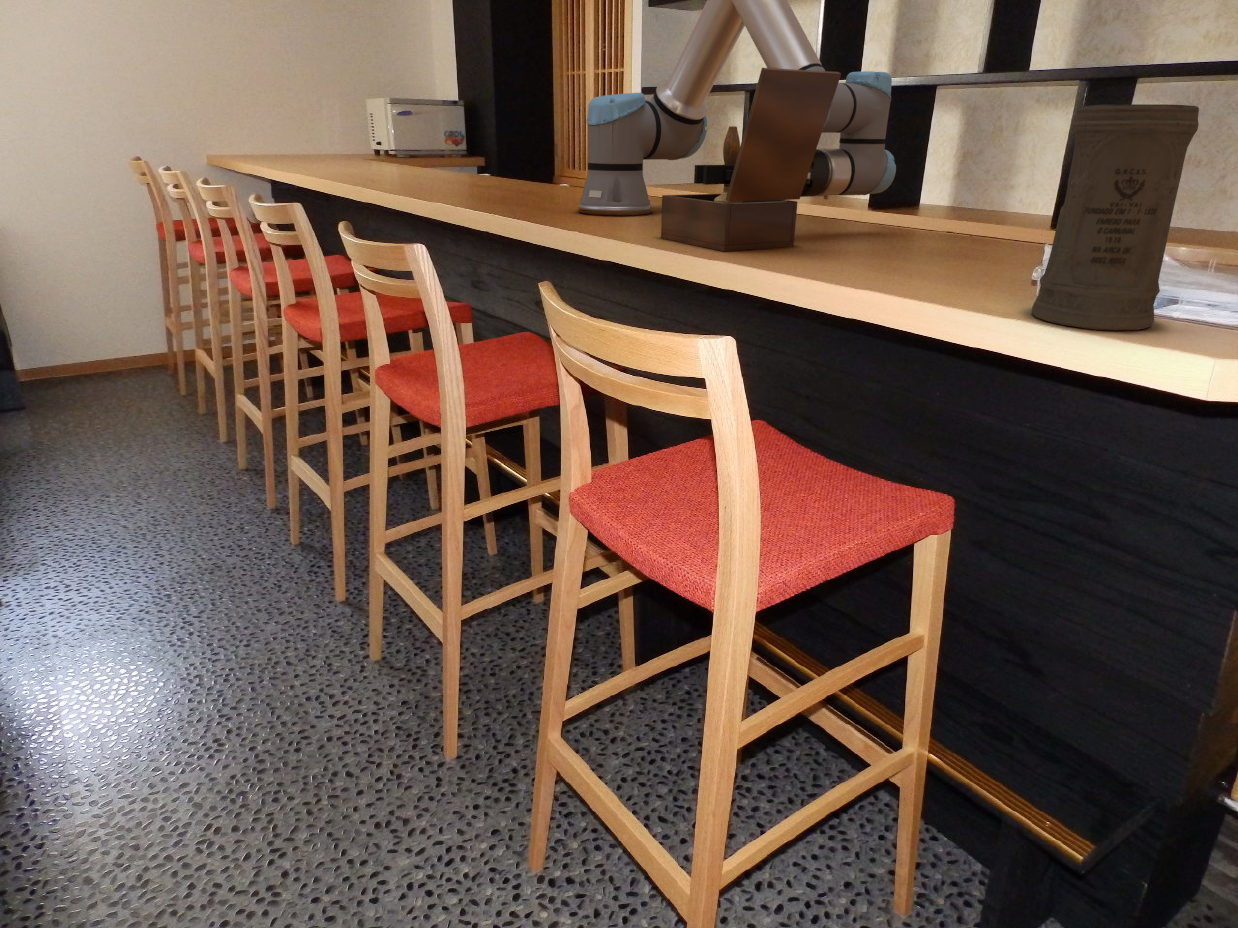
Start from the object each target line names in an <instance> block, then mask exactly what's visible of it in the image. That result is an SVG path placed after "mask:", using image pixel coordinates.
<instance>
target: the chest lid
mask: <svg viewBox="0 0 1238 928" xmlns="http://www.w3.org/2000/svg"><path fill="white" fill-rule="evenodd" d="M841 76H842V73H841V72H839V71H827V70H825V71H811V70H794V69H777V68H767V67H761V70H760V73H759V77H758V81H757V84H756V87H755V91H754V95H753V99H752V102H751V106H750V110H749V112H748V113H749V114H748V116H747V121H746V124H745V127H744V132H743V135H742V138H741V142H740V149H739V153H738V156H737V160H736V164H735V167H734V171H733V175H732V178H731V182H730V185H729V189H728V193H727V196H726V200H727V201H728V202H738V201H767V200H789V201H796V200H800V199H801V198H802V197H801V194H802V191H803V188H804V185H805V182H806V179H807V176H808V173H809V170H810V167H811V164H812V161H813V158H814V155H815V152H816V149H818V145H819V142H820V140H821V136H822V131H823V128H824V125H825V122H826V119H827V116H828V113H829V110H830V107H831V104H832V101H833V98H834V95H835V92H836V89H837V86H838V83H840V79H841Z"/></svg>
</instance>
